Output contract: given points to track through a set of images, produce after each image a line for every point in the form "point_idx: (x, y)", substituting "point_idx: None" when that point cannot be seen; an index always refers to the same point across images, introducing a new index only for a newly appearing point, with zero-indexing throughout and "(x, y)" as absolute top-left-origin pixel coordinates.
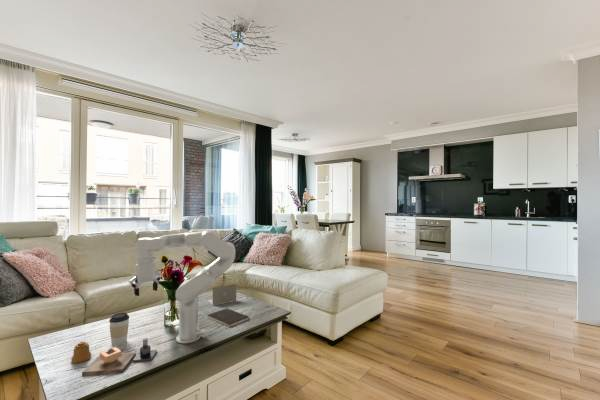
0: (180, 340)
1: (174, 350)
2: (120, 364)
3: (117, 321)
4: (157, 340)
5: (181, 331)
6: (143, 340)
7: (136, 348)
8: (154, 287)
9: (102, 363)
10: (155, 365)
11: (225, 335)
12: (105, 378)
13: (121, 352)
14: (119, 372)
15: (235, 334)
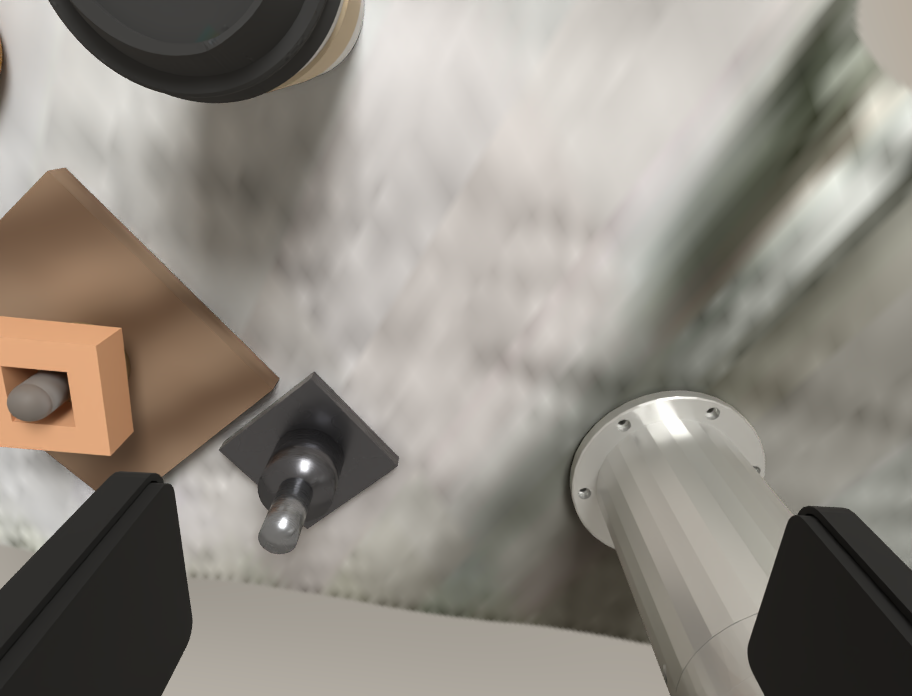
0: (585, 486)
1: (479, 529)
2: (129, 451)
3: (114, 63)
4: (521, 296)
5: (613, 532)
6: (259, 538)
7: (339, 274)
8: (827, 684)
9: None
10: (300, 577)
11: None
12: (35, 473)
13: (116, 449)
14: None
15: None
